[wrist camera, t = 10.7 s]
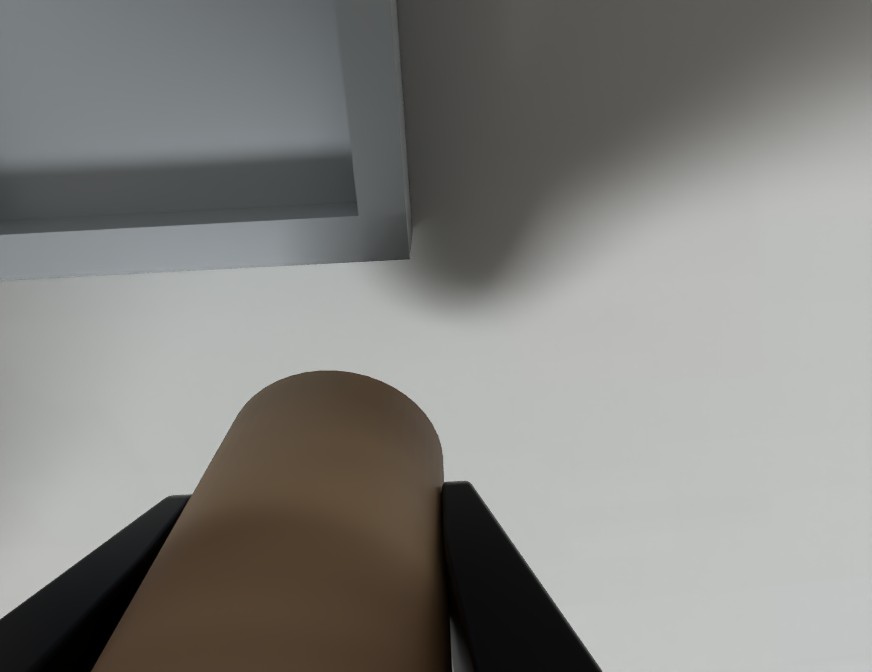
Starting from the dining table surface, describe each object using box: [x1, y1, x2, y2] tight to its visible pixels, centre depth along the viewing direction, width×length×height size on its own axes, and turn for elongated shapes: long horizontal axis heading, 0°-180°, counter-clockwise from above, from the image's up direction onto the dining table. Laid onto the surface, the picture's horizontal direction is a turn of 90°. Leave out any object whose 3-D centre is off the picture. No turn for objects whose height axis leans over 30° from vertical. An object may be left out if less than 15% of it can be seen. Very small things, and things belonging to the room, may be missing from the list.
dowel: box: [91, 371, 452, 672], centre depth 6 cm, size 4×4×6 cm
